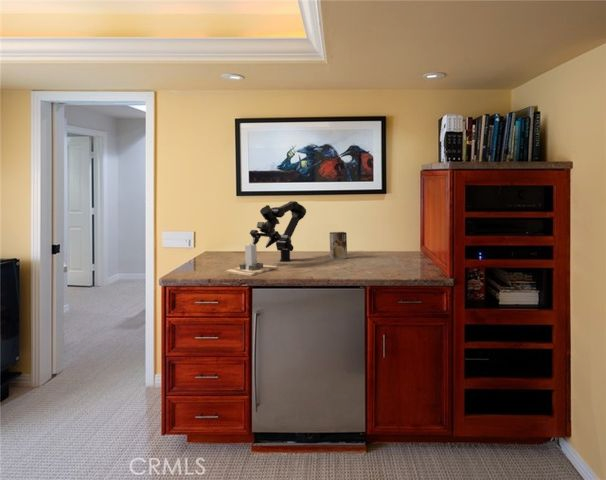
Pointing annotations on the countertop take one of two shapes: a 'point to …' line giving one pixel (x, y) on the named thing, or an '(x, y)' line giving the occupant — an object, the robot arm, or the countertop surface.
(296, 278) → the countertop surface
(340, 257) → the coffee box
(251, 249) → the block
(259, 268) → the board
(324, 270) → the countertop surface
